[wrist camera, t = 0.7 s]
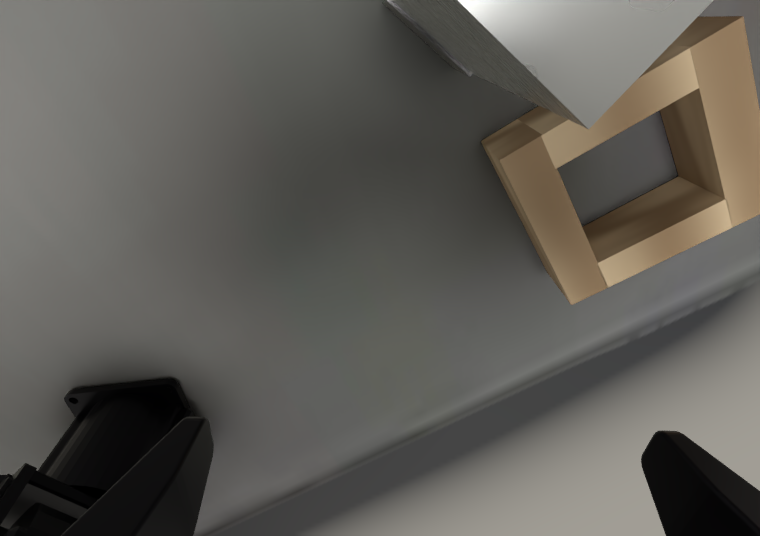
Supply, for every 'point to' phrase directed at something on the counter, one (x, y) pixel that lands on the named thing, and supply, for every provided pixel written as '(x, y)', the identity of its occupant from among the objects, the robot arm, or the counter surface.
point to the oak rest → (665, 203)
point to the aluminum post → (552, 44)
